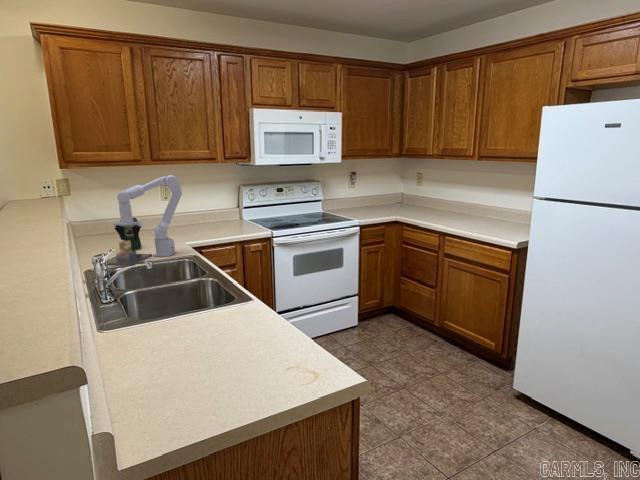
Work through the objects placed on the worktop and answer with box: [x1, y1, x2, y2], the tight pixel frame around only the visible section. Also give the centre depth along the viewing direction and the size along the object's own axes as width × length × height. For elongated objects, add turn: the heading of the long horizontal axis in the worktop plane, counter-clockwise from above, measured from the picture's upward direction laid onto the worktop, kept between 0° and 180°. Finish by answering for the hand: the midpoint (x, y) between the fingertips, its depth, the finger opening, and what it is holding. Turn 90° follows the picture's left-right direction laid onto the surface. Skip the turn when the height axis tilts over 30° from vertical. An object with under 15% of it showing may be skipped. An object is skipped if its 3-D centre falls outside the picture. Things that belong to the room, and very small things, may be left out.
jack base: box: [105, 250, 153, 266], centre depth 215 cm, size 18×18×4 cm
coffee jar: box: [119, 217, 143, 251], centre depth 238 cm, size 10×8×19 cm
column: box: [118, 240, 133, 254], centre depth 214 cm, size 4×4×6 cm
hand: (129, 239), depth 218 cm, fingers open, 7 cm apart
